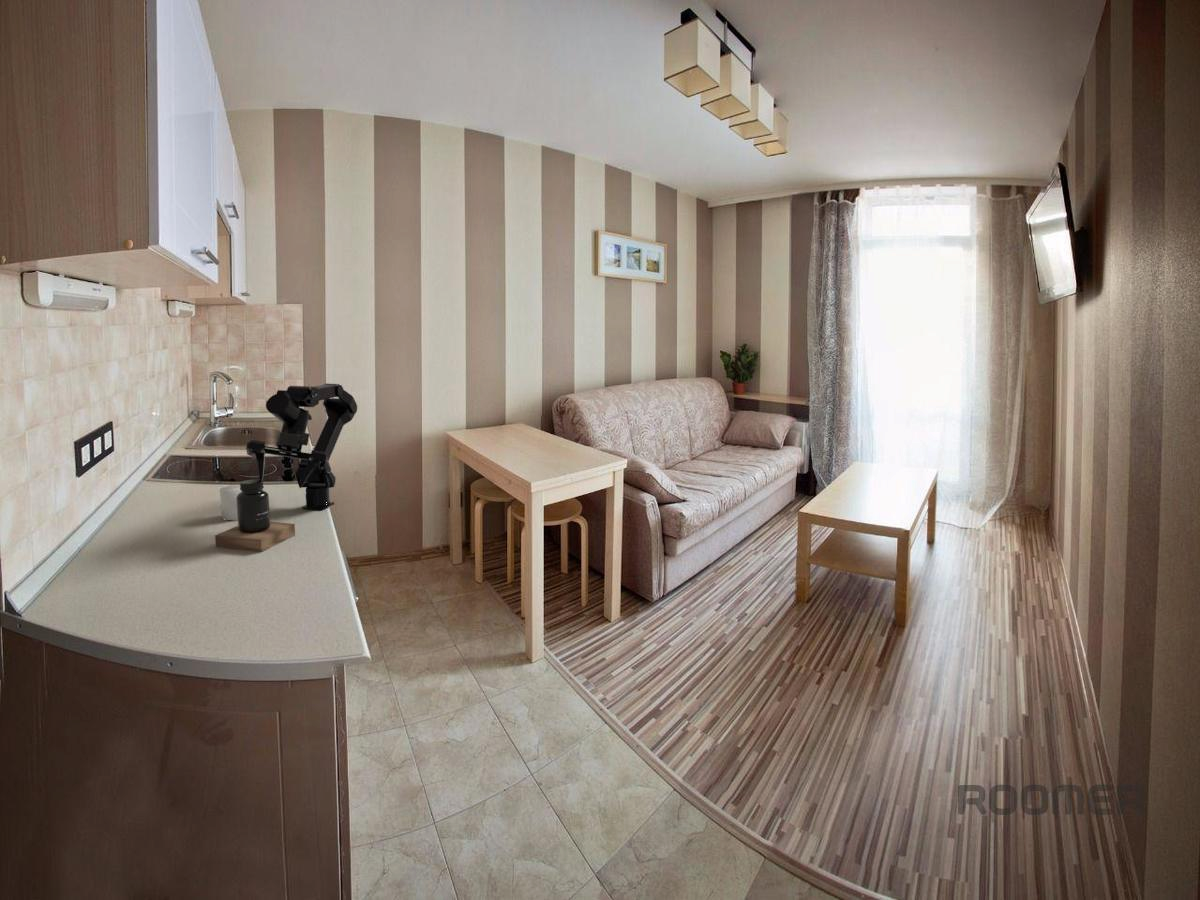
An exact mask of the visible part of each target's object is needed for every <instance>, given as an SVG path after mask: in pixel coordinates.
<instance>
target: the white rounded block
mask: <svg viewBox="0 0 1200 900" xmlns="http://www.w3.org/2000/svg"><path fill="white" fill-rule="evenodd" d="M241 492H242V491H241V490H240V484H237V485H228V486H224V487H221V488H220V489H219V494H220V495H219V497H220V509H221V519H222V518H223V519H225V520H224V521H227V520H236V521H238V516H237V502H236V497H237V495H238V494H239V493H241ZM223 519H222V520H223Z"/></svg>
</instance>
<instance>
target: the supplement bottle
mask: <svg viewBox="0 0 1200 900" xmlns="http://www.w3.org/2000/svg"><path fill="white" fill-rule="evenodd" d="M239 485H240V490H241V491H242V492H241V493H239V494H238V495H237V497H236V502H237V516H238V520H237V526H238V528H239V531H241V532H244V533H256V532H261V531H265V530H267V529H269V527H270V522H271V513H270V500H269V499H270V498H269V497H270V496H269V494H268V492H267V491H265V490H264V489H265V488H264V487H265V486H264V481H263V480H260V479H248V480H247V479H246V480H243V481H240V483H239Z"/></svg>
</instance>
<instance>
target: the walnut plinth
mask: <svg viewBox="0 0 1200 900" xmlns="http://www.w3.org/2000/svg"><path fill="white" fill-rule="evenodd" d="M294 535H295V536H296V527H295V523H290V522H289V523H288V522H286V523H285V522H277V521H270V527H269V529H267V530H265V531H261V532H256V533H244V532H241V531H239V528H238V525H236V526H233V527H231V528H229V529H227V530H224V531H222V532H220V533H217V534H215V535H214V540H215V548H220V549H228V550H237V551H240V550H241V551H249V552H257V553H258V552H259V553H262V552H264V551H266V550H268V549H270V548H273V547H274V546H277V545H279V544H280V543H282V542H285V541H287V540H288V539H291V538H292V537H294Z"/></svg>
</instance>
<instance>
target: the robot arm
mask: <svg viewBox="0 0 1200 900" xmlns="http://www.w3.org/2000/svg"><path fill="white" fill-rule="evenodd" d="M320 401H323V402H322V405H323V407H324V408H325V413H326V415H327V418H326V421H325V423H324V426H323V428H322V430H321V433H320V435H319V437H318V440H317V441H316V444H315V446H314V448H313V449H311V452H310V453H309V452H304V451H302V448H303V446H305V447H306V446H308V444H309V440H310V433H308V432H307V431H306V430H307V426H308V421H312V419H313V417H312V415H311V413H310V412H309V410H306V409H304V408H314V407H316V406H318V404H320ZM265 408H266V410H267V411H268V412H269V413H270V414H271V415H272V416H273V417H275V418H277V419H278V420H279V421H280V422H282V425H281V430H280V432H279V435H278V437H277V441H276V444H275V445H276V447H272V446H268V445H267V442H266V441H261V440H256V439H250V440H248V442H247V443H246V447H245V450H246V454H247V456H249V457H251V459H253V460H256V463H257V466H258V467H257V468H258V476H259V480H262V481H263V479H264V475H265V473H264V471H265V465H266V464H265V462H266V458H265V457H266V455H272V456H279V457H285V458H291V459H297V460H300V461H299V462H298V463H297V465H298V466H297V468H296V470H295V477H296V480H297V484H298V487H299V489H302V488H305V505H303V506H301V508H302V509H305V510H315V509H317V510H318V511H323V510H326V509H328V508H329V507H331V506H334V505H335V502H334V501H333V502H331V501H330V488H334V487H335V485H336V479H337V478H336V476H335V475H334V473H333V472H332V467H331V465H330V462H329V461H330V458H331V456H332V453H333V451H334V449H335V447H336V445H337V442H338V439H339V438H340V434H341V432H342V429H343V427H344V426H345V425H346V424H348V423H349V422H351V421H352V420H353V419H354V417H355V415H356V413H357V412H358V405H357V402H356V400H355V398H354V397H353V395H352V394H351V393H349V392H347V391H346V390H345V389H344V387H343V385H341V384H340V383H325V384H320V385H316V386H315V385H314V386H310V385H309V386H306V385H305V386H304V385H289V386H288V387H287V388H286V390H283V389H278V390H277V391H276V393H275V394H273V395H272V396H269V398H268V399H267V400H266V402H265ZM326 502H327V503H326ZM326 504H327V505H326ZM327 506H328V507H327ZM317 510H316V511H317Z"/></svg>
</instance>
